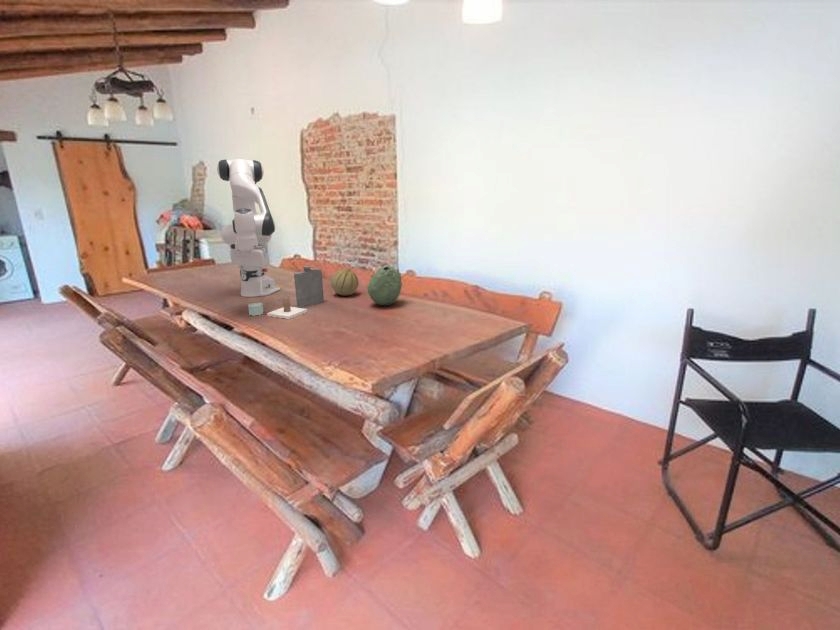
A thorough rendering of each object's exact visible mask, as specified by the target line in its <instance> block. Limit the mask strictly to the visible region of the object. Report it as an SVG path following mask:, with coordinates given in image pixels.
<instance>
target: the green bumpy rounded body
mask: <svg viewBox="0 0 840 630" xmlns="http://www.w3.org/2000/svg"><path fill="white" fill-rule="evenodd" d="M402 286H403V283H402V273H400V270H399V268H397V267H394V266H390V265H389V264H384V266H383V267H380V268H378V269H377V270H376V272H375V273H373V274H371V275H370V280H369V282H368V285H367V289H366V291H367V293H368V296H369V297H370V299H371V301H373V302H374V303H375V304H377V305H379V306H381V307H382V306H383V307H385V306H390V305H392V304H394V303H395V302H396V301H397V300H398V298H399V296H400V294H401V291H402Z"/></svg>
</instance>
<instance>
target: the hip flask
mask: <svg viewBox="0 0 840 630" xmlns="http://www.w3.org/2000/svg"><path fill="white" fill-rule="evenodd" d="M302 268H303V270H301V271H297V272H294V273H293V277H294V287H295V288H294V289H295V298H296V308H303V307H304V308H306V307H309V306H313V305H316V304H323V303H324V302H325V297H324V285H323V284H324V283H323V274H322V272H323V270H322V268H311V265H304V266H303V267H302ZM304 308H303V309H304Z"/></svg>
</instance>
